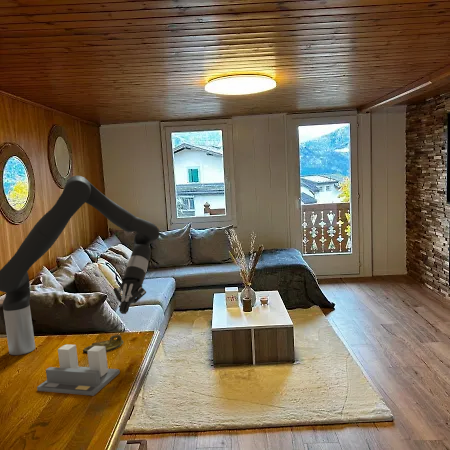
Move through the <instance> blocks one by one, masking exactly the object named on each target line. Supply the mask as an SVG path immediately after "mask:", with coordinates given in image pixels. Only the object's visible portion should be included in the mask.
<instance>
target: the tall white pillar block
mask: <svg viewBox="0 0 450 450" xmlns="http://www.w3.org/2000/svg"><path fill="white" fill-rule="evenodd" d="M87 359H88V360H87V361H88V367H89V370H99V373H100V377H102V376H103V375H104V374H106V373H107V372H108V369H109V366H108V360H107V352H106V348H105V346H94V347H92V348H91V349H89V350H88V351H87Z"/></svg>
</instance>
